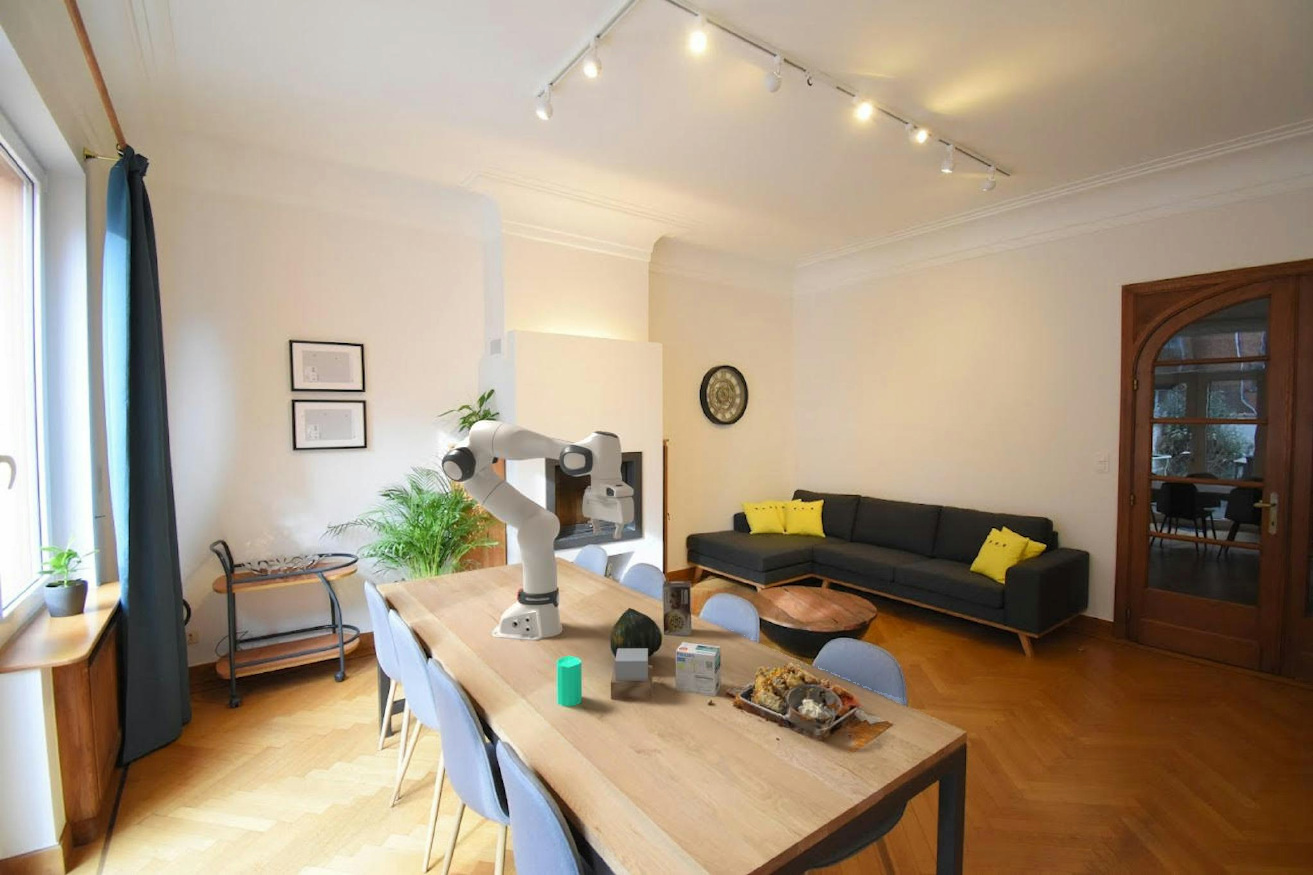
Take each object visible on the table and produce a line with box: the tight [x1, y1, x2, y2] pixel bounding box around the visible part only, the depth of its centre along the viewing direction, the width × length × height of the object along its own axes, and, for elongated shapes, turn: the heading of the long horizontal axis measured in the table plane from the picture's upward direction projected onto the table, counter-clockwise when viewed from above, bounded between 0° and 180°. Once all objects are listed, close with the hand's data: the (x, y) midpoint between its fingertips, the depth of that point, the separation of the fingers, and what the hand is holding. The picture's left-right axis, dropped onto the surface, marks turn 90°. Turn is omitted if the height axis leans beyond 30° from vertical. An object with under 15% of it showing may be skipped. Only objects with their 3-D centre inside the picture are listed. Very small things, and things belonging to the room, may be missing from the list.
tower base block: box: [610, 664, 653, 701], centre depth 149 cm, size 10×10×5 cm
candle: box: [556, 655, 583, 708], centre depth 143 cm, size 6×6×12 cm
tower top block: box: [614, 648, 649, 681], centre depth 149 cm, size 8×8×5 cm
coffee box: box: [662, 580, 693, 636], centre depth 191 cm, size 9×6×16 cm
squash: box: [609, 607, 663, 659], centre depth 166 cm, size 14×15×15 cm
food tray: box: [707, 662, 894, 760], centre depth 137 cm, size 35×26×11 cm
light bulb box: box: [675, 641, 722, 697], centre depth 151 cm, size 11×7×11 cm, turn 71°
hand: (607, 535), depth 168 cm, fingers open, 8 cm apart
